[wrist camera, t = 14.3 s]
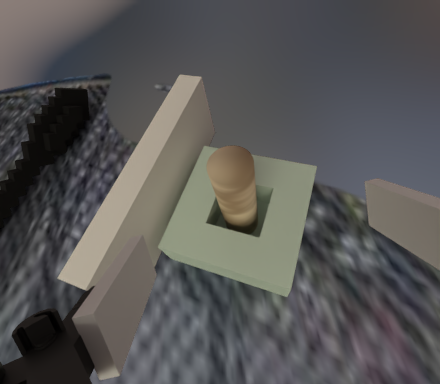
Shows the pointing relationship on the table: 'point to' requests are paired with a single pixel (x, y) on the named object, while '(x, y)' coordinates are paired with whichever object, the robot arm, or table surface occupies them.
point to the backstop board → (146, 184)
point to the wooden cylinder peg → (235, 187)
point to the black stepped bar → (45, 142)
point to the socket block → (239, 242)
